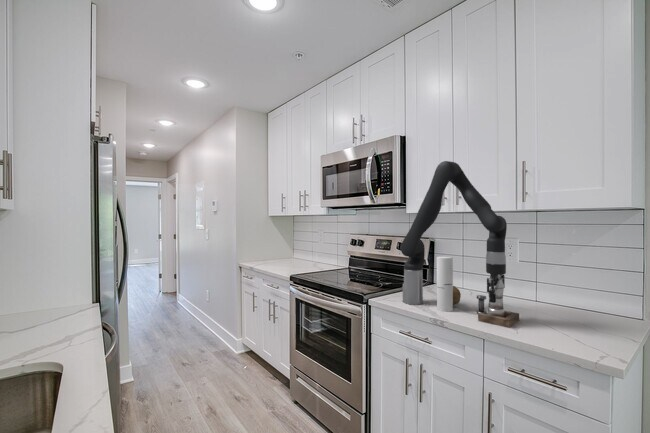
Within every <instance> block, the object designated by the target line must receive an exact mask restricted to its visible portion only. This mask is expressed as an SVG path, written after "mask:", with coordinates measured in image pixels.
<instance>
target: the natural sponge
mask: <svg viewBox="0 0 650 433" xmlns="http://www.w3.org/2000/svg"><path fill="white" fill-rule="evenodd" d="M461 294H462V293H461V291H460V289H459V288H458V287H456V286H455V285H453V307H454V306H456V305H459V303H460V302H461V296H462V295H461Z"/></svg>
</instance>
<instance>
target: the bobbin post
mask: <svg viewBox="0 0 650 433" xmlns="http://www.w3.org/2000/svg"><path fill="white" fill-rule="evenodd" d="M476 299H477V300H478V310H476V314H477V315H478V314H479V313H483V314H487V311H485V300H487V296H486V295H482V294H481V295H480V294H479V295H476Z"/></svg>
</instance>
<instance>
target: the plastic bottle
mask: <svg viewBox="0 0 650 433" xmlns="http://www.w3.org/2000/svg"><path fill="white" fill-rule="evenodd" d="M500 277H501V276H500V275H499V274H498V279H500ZM494 286H496V285H494ZM491 290H492V289H491ZM504 290H505V288H504V284H503V282H502V281H501V280H500V283H499V286H498V289H497V290H496V302H495V303H492V302H490V293H489V292H487V293H488V307H487V314H488V315H493V316H498V317H502V318H504V317H505V312H504V311H505V309H504Z"/></svg>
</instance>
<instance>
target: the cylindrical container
mask: <svg viewBox="0 0 650 433" xmlns="http://www.w3.org/2000/svg"><path fill="white" fill-rule="evenodd" d="M453 265H454V262H453V257H452V256H445V255H444V256H443V255H442V256H436V310H437V311H440V312H453V311H454V306H453V286H454V282H453V279H454V278H453V270H454V269H453V267H454V266H453Z"/></svg>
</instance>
